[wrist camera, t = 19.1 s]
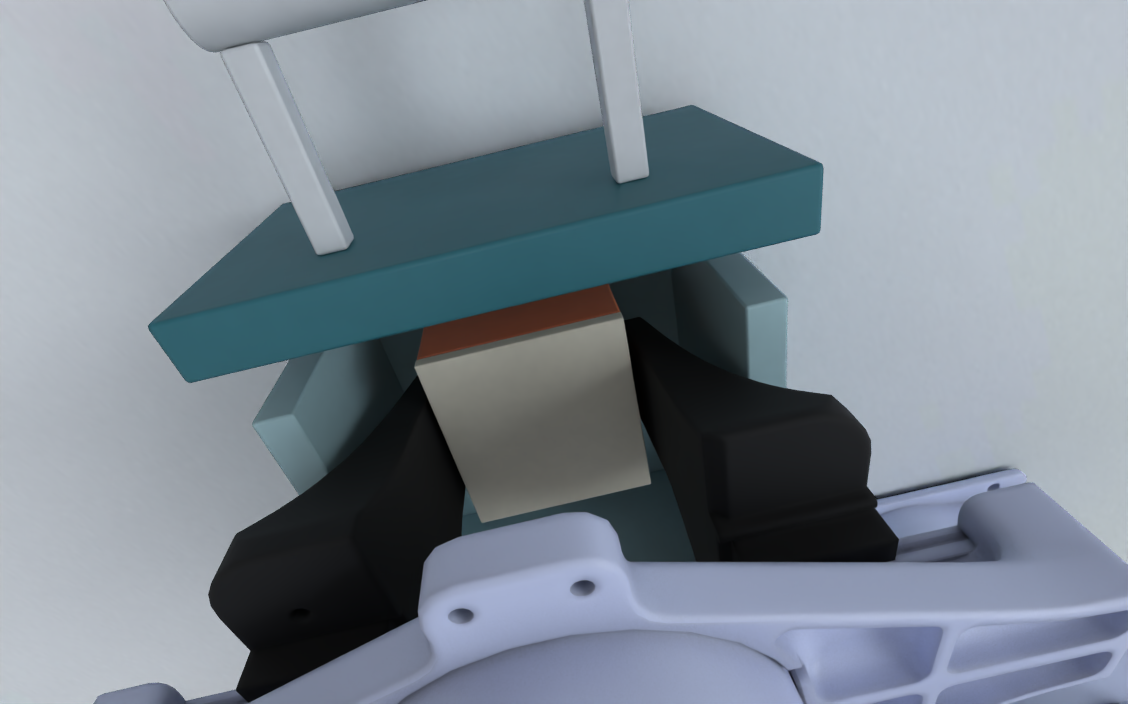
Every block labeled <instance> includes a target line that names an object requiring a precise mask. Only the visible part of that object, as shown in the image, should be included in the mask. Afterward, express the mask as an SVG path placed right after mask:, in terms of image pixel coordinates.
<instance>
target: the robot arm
mask: <svg viewBox="0 0 1128 704" xmlns="http://www.w3.org/2000/svg"><path fill="white" fill-rule="evenodd" d="M624 324H625V330H626V336H627V342H628V348H629V354H630V360H631V365H632V371H633V377H634V383H635V389H636V395H637V401H638V407H639V413H640V418H641V420H642V422H643V424H644V427H645V429H646V431H647V433H648V435H649V437H650V440H651V442H652V444H653V446H654V448H655V450H656V452H657V455H658V457H659V459H660V461H661V463H662V465H663V467H664V470H665V472H666V474H667V477H668V479H669V482H670V484H671V487H672V490H673V493H674V496H675V499H676V501H677V504H678V507H679V510H680V513H681V516H682V519H683V522H684V525H685V529H686V532H687V535H688V538H689V541H690V544H691V547H692V550H693V553H694V556H695V559H696V562H629V561H627V560H626V559H625V557H624V555H623V553H622V550H621V546H620V542H619V538H618V534H617V533H616V531H615V530H614V528H613V527H612V526H611V524H610V523H609V521H608V520H606V519H603V518H601V517H598V516H596V515H593V514H590V513H588V512H572V513H560V514H556V515H551V516H547V517H543V518H538V519H534V520H530V521H525V522H521V523H517V524H512V525H508V526H504V527H499V528H495V529H491V530H486V531H482V532H478V533H473V534H469V535H465V536H462V518H463V508H464V498H465V488H466V486H465V484H464V481H463V479H462V477H461V475H460V472H459V470H458V468H457V465H456V463H455V461H454V458H453V456H452V454H451V451H450V449H449V447H448V444H447V442H446V440H445V437H444V435H443V433H442V431H441V428H440V426H439V424H438V421H437V419H436V417H435V414H434V412H433V410H432V407H431V405H430V403H429V400H428V398H427V396H426V393H425V391H424V389H423V387H422V384H421V382H420V380H419V377H418V375H417V376H416V378H415V379H414V380H413V382H412V383H411V384H410V386H409V387H408V388H407V390H406V391H405V392H404V394H403V395H402V396H401V398H400V399H399V400H398V401H397V403H396V404H395V405H394V407H393V408H392V409H391V410H390V412H389V413H388V414H387V415H386V416H385V418H384V419H383V420H382V421H381V422H380V423H379V425H378V426H377V427H376V428H375V429H374V430H373V432H372V433H371V434H370V435H369V436H368V437H367V438H366V439H365V440H364V441H363V442H362V443H361V444H360V445H359V446H358V447H357V448H356V449H355V450H354V451H353V452H352V453H351V454H350V455H349V456H348V457H347V458H346V459H345V460H344V461H342V462H341V463H340V464H339V465H338V466H337V467H335V468H334V469H333V470H332V471H330V472H329V473H328V474H327V475H326V476H324V477H323V478H322V479H321V480H319V481H318V482H317V483H316V484H314V485H313V486H312V487H310V488H309V489H308V490H306V491H305V492H303V493H302V494H301V495H299V496H298V497H296V498H295V499H293V500H292V501H290V502H289V503H287V504H286V505H284V506H283V507H281V508H280V509H278V510H277V511H275V512H273V513H272V514H270V515H268V516H266V517H265V518H263V519H261V520H260V521H258V522H256V523H254V524H253V525H251V526H249V527H248V528H246V529H244V530H242V531H240V532H239V533H237V534H236V535H235V537H234V539H233V541H232V543H231V545H230V547H229V549H228V551H227V553H226V555H225V557H224V559H223V561H222V563H221V565H220V567H219V569H218V571H217V573H216V575H215V577H214V579H213V581H212V583H211V586H210V590H209V594H208V595H209V600H210V604H211V607H212V608H213V610H214V611H215V613H216V614H217V616H218V617H219V618H220V619H221V620H222V622H223V623H224V624H225V625H226V626H227V627H228V628H229V629H230V630H231V631H232V632H233V633H234V634H235V635H236V636H237V637H238V638H239V639H240V640H241V641H242V642H243V643H244V645H245V646H246V647H247V648H248V649H249V650H250V654H249V657H248V659H247V662H246V665H245V667H244V670H243V672H242V675H241V678H240V680H239V683H238V685H237V688H236V690H231V691H227V692H223V693H218V694H214V695H210V696H205V697H201V698H196V699H192V700H188V701H185V700H184V698H183V697H182V696H181V694H180V693H179V692H178V691H177V690H176V689H174V688H173V687H171V686H169V685H167V684H162V683H148V684H143V685H139V686H135V687H130V688H126V689H122V690H117V691H113V692H108V693H104V694H102V695H100V696H98V697H97V699H96V700H95V702H94V704H1128V564H1127V563H1126V562H1125V561H1123V560H1122V559H1121V558H1120V557H1119V556H1118V555H1116V554H1115V553H1114V552H1113V551H1112V550H1111V549H1110V548H1108V547H1107V546H1106V545H1105V544H1104V543H1103V542H1101V541H1100V540H1099V539H1098V538H1097V537H1096V536H1095V535H1093V534H1092V533H1091V532H1090V531H1089V530H1088V529H1086V528H1085V527H1084V526H1083V525H1082V524H1081V523H1080V522H1078V521H1077V520H1076V519H1075V518H1074V517H1073V516H1071V515H1070V514H1069V513H1068V512H1067V511H1066V510H1065V509H1063V508H1062V507H1061V506H1060V505H1059V504H1058V503H1056V502H1055V501H1054V500H1053V499H1052V498H1051V497H1050V496H1048V495H1047V494H1046V493H1045V492H1044V491H1043V490H1041V489H1040V488H1039V487H1038V486H1037V485H1036V484H1034V483H1025V482H1026V478H1027V476H1026V475H1025V474H1024V473H1023V472H1022V471H1021V470H1019V469H1009V470H1005V471H1000V472H996V473H992V474H987V475H983V476H978V477H974V478H970V479H965V480H961V481H957V482H952V483H948V484H944V485H939V486H935V487H930V488H926V489H922V490H917V491H913V492H909V493H904V494H900V495H896V496H891V497H887V498H882V499H878V500H877V499H876V498H875V496H874V495H873V494H872V492H871V491H870V490H869V489H868V487H867V480H868V472H869V465H870V457H871V440H870V438H869V436H868V433H867V431H866V429H865V428H864V427H863V426H862V425H861V424H860V423H859V421H858V420H857V419H856V418H855V417H854V416H853V415H852V414H851V413H850V412H849V411H848V410H847V409H846V408H845V407H844V406H843V405H842V404H841V403H840V402H839V401H837V400H836V399H835V398H834V397H833V396H832V395H827V394H820V393H812V392H805V391H797V390H792V389H787V388H783V387H778V386H773V385H769V384H765V383H762V382H758V381H755V380H752V379H749V378H746V377H742V376H739V375H737V374H734V373H731V372H729V371H726V370H724V369H722V368H719V367H717V366H715V365H713V364H710V363H708V362H706V361H704V360H702V359H701V358H699V357H697V356H695V355H693V354H692V353H690V352H688V351H687V350H685V349H684V348H682V347H681V346H679V345H678V344H676V343H675V342H673V341H672V340H670V339H669V338H667V337H666V336H665V335H663V334H662V333H661V332H659V331H658V330H657V329H655V328H654V327H653V326H652V325H650V324H649V323H648V322H647V321H645V320H644V319H643V318H641V317H636V318H632V319H628V320H624Z"/></svg>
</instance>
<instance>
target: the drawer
mask: <svg viewBox="0 0 1128 704" xmlns="http://www.w3.org/2000/svg"><path fill="white" fill-rule="evenodd" d="M422 1H426V0H164V2H165V4H166V5H167V7H168V9H169V10H170V12H171V14H172V15H173V17H174V18H175V20H176V21H177V23H178V24H179V25H180V27H181V28H182V29H183V31H184V32H185V33H186V34H187V35H188V36H189V37H190V39H192V40H193V41H194V42H195V43H196V44H197V45H198V46H199V47H201V48H202V49H204V50H206V51H209V52H219V51H221V52H220V55H221V58H222V60H223V62H224V64H225V66H226V68H227V70H228V72H229V74H230V76H231V79H232V81H233V83H234V85H235V87H236V89H237V91H238V93H239V95H240V97H241V99H242V101H243V103H244V105H245V107H246V110H247V112H248V114H249V116H250V118H251V120H252V122H253V124H254V126H255V128H256V130H257V132H258V134H259V136H260V139H261V141H262V143H263V145H264V147H265V149H266V151H267V153H268V155H269V157H270V159H271V161H272V163H273V165H274V167H275V170H276V172H277V174H278V176H279V178H280V180H281V182H282V184H283V186H284V188H285V190H286V192H287V194H288V196H289V198H290V201H291V202H289V203H285V204H282V205H281V206H280V207H279V208H278V209H276V210H275V211H274V212H273V213H272V214H271V215H270V216H269V217H268V218H266V219H265V220H264V221H263V222H262V223H261V224H260V225H259V226H258V227H256V228H255V229H254V230H253V231H252V232H251V233H250V234H249V235H248V236H246V237H245V238H244V239H243V240H242V241H241V242H240V243H239V244H238V245H236V246H235V247H234V248H233V249H232V250H231V251H230V252H229V253H228V254H226V255H225V256H224V257H223V258H222V259H221V260H220V261H219V262H218V263H216V264H215V265H214V266H213V267H212V268H211V269H210V270H209V271H208V272H206V273H205V274H204V275H203V276H202V277H201V278H200V279H199V280H198V281H196V282H195V283H194V284H193V285H192V286H191V287H190V288H189V289H188V290H186V291H185V292H184V293H183V294H182V295H181V296H180V297H179V298H178V299H176V300H175V301H174V302H173V303H172V304H171V305H170V306H169V307H168V308H166V309H165V310H164V311H163V312H162V313H161V314H160V315H159V316H158V317H156V318H155V319H154V320H153V321H152V322H151V323H150V324H149V325H148V328H149V331H150V332H151V334H152V335H153V336H154V338H155V339H156V341H157V342H158V343H159V345H160V346H161V347H162V349H163V350H164V352H165V353H166V354H167V356H168V357H169V359H170V360H171V361H172V363H173V364H174V366H175V367H176V368H177V370H178V371H179V373H180V374H181V375H182V377H183V378H184V379H185V381H187V382H188V383H192V382H197V381H201V380H205V379H209V378H214V377H218V376H222V375H226V374H230V373H235V372H239V371H243V370H247V369H251V368H256V367H260V366H264V365H268V364H272V363H277V362H281V361H285V360H289V359H290V360H289V362H288V363H287V365H286V367H285V368H284V370H283V372H282V374H281V375H280V377H279V379H278V380H277V382H276V384H275V385H274V387H273V389H272V391H271V392H270V394H269V396H268V397H267V399H266V401H265V402H264V404H263V406H262V407H261V409H260V411H259V413H258V414H257V416H256V418H255V419H254V421H253V423H252V425H253V427H254V429H255V430H256V432H257V433H258V435H259V436H260V438H261V439H262V441H263V442H264V444H265V445H266V447H267V448H268V450H269V451H270V453H271V454H272V456H273V457H274V458H275V460H276V461H277V463H278V464H279V466H280V467H281V469H282V470H283V472H284V473H285V475H286V476H287V478H288V479H289V481H290V482H291V484H292V485H293V487H294V488H295V490H296V491H297V493H298V494H299V495H301V494H302V493H303V492H305V491H306V490H308V489H309V488H310V487H312V486H313V485H314V484H316V483H317V482H318V481H319V480H321V479H322V478H323V477H324V476H326V475H327V474H328V473H329V472H330V471H332V470H333V469H334V468H335V467H337V466H338V465H339V464H340V463H341V462H342V461H344V460H345V459H346V458H347V457H348V456H349V455H350V454H351V453H352V452H353V451H354V450H355V449H356V448H357V447H358V446H359V445H360V444H361V443H362V442H363V441H364V440H365V439H366V438H367V437H368V436H369V435H370V434H371V433H372V432H373V430H374V429H375V428H376V427H377V426H378V425H379V423H380V422H381V421H382V420H383V419H384V418H385V416H386V415H387V414H388V413H389V412H390V410H391V409H392V408H393V407H394V405H395V404H396V403H397V401H398V400H399V399H400V398H401V396H402V395H403V394H404V392H405V391H406V390H407V388H408V387H409V386H410V384H411V383H412V382H413V380H414V379H415V378H416V376H417V373H416V370H415V368H414V366H415V362H416V360H417V356H418V351H419V347H420V342H421V338H422V333H423V329H424V327H428V326H433V325H437V324H441V323H445V322H449V321H454V320H458V319H462V318H466V317H470V316H475V315H479V314H483V313H487V312H491V311H496V310H500V309H504V308H508V307H513V306H517V305H521V304H525V303H529V302H534V301H538V300H542V299H546V298H550V297H555V296H559V295H563V294H567V293H572V292H576V291H580V290H584V289H588V288H593V287H597V286H601V285H605V284H609V286H610V289H611V291H612V293H613V296H614V298H615V300H616V303H617V305H618V307H619V310H620V312H621V314H622V316H623V318H624V320H628V319H632V318H636V317H641V318H643V319H644V320H645V321H647V322H648V323H649V324H650V325H652V326H653V327H654V328H655V329H657V330H658V331H659V332H661V333H662V334H663V335H665V336H666V337H667V338H669V339H670V340H672V341H673V342H675V343H676V344H678V345H679V346H681V347H682V348H684V349H685V350H687V351H688V352H690V353H692V354H693V355H695V356H697V357H699V358H701V359H702V360H704V361H706V362H708V363H710V364H713V365H715V366H717V367H719V368H722V369H724V370H726V371H729V372H731V373H734V374H737V375H739V376H742V377H746V378H749V379H752V380H755V381H758V382H762V383H765V384H769V385H773V386H778V387H783V388H786V367H787V311H788V299H787V297H786V296H785V295H784V294H783V293H782V292H781V291H780V290H779V289H778V288H777V287H776V286H775V285H774V284H773V283H772V282H771V281H770V280H769V279H767V278H766V277H765V276H764V275H763V274H762V273H761V272H760V271H759V270H758V269H757V268H756V267H755V266H754V265H753V264H752V263H751V262H750V261H749V260H748V259H747V258H746V257H745V256H744V255H743V254H742V253H740V252H744V251H748V250H753V249H757V248H761V247H765V246H769V245H774V244H778V243H782V242H786V241H790V240H795V239H799V238H803V237H807V236H812V235H816V234H818V233H819V232H820V228H821V208H822V188H823V165H822V163H820V162H817V161H815V160H813V159H811V158H809V157H806V156H804V155H802V154H800V153H798V152H795V151H793V150H791V149H789V148H787V147H784V146H782V145H780V144H778V143H776V142H773V141H771V140H769V139H767V138H765V137H762V136H760V135H758V134H756V133H754V132H751V131H749V130H747V129H745V128H743V127H740V126H738V125H736V124H734V123H731V122H729V121H727V120H725V119H723V118H720V117H718V116H716V115H714V114H712V113H709V112H707V111H705V110H703V109H701V108H698V107H696V106H694V105H690V106H685V107H681V108H677V109H673V110H669V111H665V112H661V113H657V114H652V115H648V116H644V117H642V109H641V101H640V93H639V84H638V76H637V68H636V59H635V51H634V42H633V34H632V26H631V17H630V9H629V1H628V0H584V4H585V11H586V17H587V24H588V30H589V36H590V43H591V49H592V55H593V62H594V68H595V74H596V81H597V87H598V94H599V100H600V106H601V113H602V119H603V125H604V126H603V127H599V128H595V129H591V130H586V131H582V132H578V133H574V134H570V135H566V136H562V137H557V138H553V139H549V140H545V141H541V142H537V143H533V144H529V145H524V146H520V147H516V148H512V149H508V150H504V151H500V152H496V153H491V154H487V155H483V156H479V157H475V158H471V159H467V160H462V161H458V162H454V163H450V164H446V165H442V166H438V167H434V168H429V169H425V170H421V171H417V172H413V173H409V174H405V175H401V176H396V177H392V178H388V179H384V180H380V181H376V182H372V183H368V184H363V185H359V186H355V187H351V188H347V189H343V190H339V191H334V190H333V188H332V185H331V183H330V181H329V178H328V176H327V174H326V172H325V169H324V167H323V165H322V162H321V160H320V158H319V156H318V153H317V151H316V149H315V146H314V144H313V142H312V139H311V137H310V135H309V133H308V130H307V128H306V126H305V123H304V121H303V119H302V117H301V114H300V112H299V110H298V107H297V105H296V103H295V100H294V98H293V96H292V94H291V91H290V89H289V87H288V84H287V82H286V80H285V78H284V75H283V73H282V71H281V68H280V66H279V64H278V61H277V59H276V57H275V55H274V52H273V50H272V48H271V45H270V44H269V43H268V42H265V41H264V40H268V39H272V38H276V37H280V36H284V35H288V34H292V33H296V32H300V31H304V30H308V29H312V28H316V27H321V26H325V25H329V24H333V23H337V22H341V21H345V20H349V19H353V18H357V17H361V16H365V15H369V14H373V13H377V12H381V11H385V10H389V9H393V8H397V7H401V6H405V5H410V4H414V3H418V2H422ZM260 41H262V42H260ZM640 419H641V418H640ZM641 425H642V431H643V436H644V442H645V448H646V454H647V460H648V466H649V472H650V478H651V484H649V485H644V486H640V487H636V488H631V489H627V490H623V491H618V492H614V493H610V494H605V495H601V496H597V497H593V498H588V499H584V500H580V501H575V502H571V503H567V504H562V505H558V506H554V507H549V508H545V509H541V510H536V511H532V512H528V513H523V514H519V515H515V516H510V517H506V518H502V519H497V520H493V521H489V522H484V523H481V521H480V519H479V516H478V514H477V512H476V509H475V507H474V505H473V502H472V500H471V498H470V495H469V493H468V491H467V488H465V498H464V508H463V518H462V536H465V535H469V534H473V533H478V532H482V531H486V530H491V529H495V528H499V527H504V526H508V525H512V524H517V523H521V522H525V521H530V520H534V519H538V518H543V517H547V516H551V515H556V514H560V513H572V512H588V513H590V514H593V515H596V516H598V517H601V518H603V519H606V520H608V521H609V523H610V524H611V526H612V527H613V528H614V530H615V531H616V533H617V534H618V538H619V542H620V546H621V550H622V553H623V555H624V557H625V559H626V560H627V561H629V562H696V559H695V556H694V553H693V550H692V547H691V544H690V541H689V538H688V535H687V532H686V529H685V525H684V522H683V519H682V516H681V513H680V510H679V507H678V504H677V501H676V499H675V496H674V493H673V490H672V487H671V484H670V482H669V479H668V477H667V474H666V472H665V470H664V467H663V465H662V463H661V461H660V459H659V457H658V455H657V452H656V450H655V448H654V446H653V444H652V442H651V440H650V437H649V435H648V433H647V431H646V429H645V427H644V424H643V422H642V420H641Z"/></svg>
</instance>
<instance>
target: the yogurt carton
mask: <svg viewBox="0 0 1128 704" xmlns="http://www.w3.org/2000/svg"><path fill="white" fill-rule="evenodd" d="M414 368H415V370H416V373H417V375H418V377H419V380H420V382H421V384H422V387H423V389H424V391H425V393H426V396H427V398H428V400H429V403H430V405H431V407H432V410H433V412H434V414H435V417H436V419H437V421H438V424H439V426H440V428H441V431H442V433H443V435H444V437H445V440H446V442H447V444H448V447H449V449H450V451H451V454H452V456H453V458H454V461H455V463H456V465H457V468H458V470H459V472H460V475H461V477H462V479H463V481H464V484H465V486H466V488H467V491H468V493H469V495H470V498H471V500H472V502H473V505H474V507H475V509H476V512H477V514H478V516H479V519H480V521H481V523H484V522H489V521H493V520H497V519H502V518H506V517H510V516H515V515H519V514H523V513H528V512H532V511H536V510H541V509H545V508H549V507H554V506H558V505H562V504H567V503H571V502H575V501H580V500H584V499H588V498H593V497H597V496H601V495H605V494H610V493H614V492H618V491H623V490H627V489H631V488H636V487H640V486H644V485H649V484H651V478H650V472H649V466H648V460H647V454H646V448H645V442H644V436H643V431H642V425H641V419H640V413H639V407H638V401H637V395H636V389H635V383H634V377H633V371H632V365H631V360H630V354H629V348H628V342H627V336H626V330H625V324H624V318H623V316H622V314H621V312H620V310H619V307H618V305H617V303H616V300H615V298H614V296H613V293H612V291H611V289H610V286H609V284H605V285H601V286H597V287H593V288H588V289H584V290H580V291H576V292H572V293H567V294H563V295H559V296H555V297H550V298H546V299H542V300H538V301H534V302H529V303H525V304H521V305H517V306H513V307H508V308H504V309H500V310H496V311H491V312H487V313H483V314H479V315H475V316H470V317H466V318H462V319H458V320H454V321H449V322H445V323H441V324H437V325H433V326H428V327H424V329H423V333H422V338H421V342H420V347H419V351H418V356H417V360H416V362H415V366H414Z"/></svg>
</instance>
